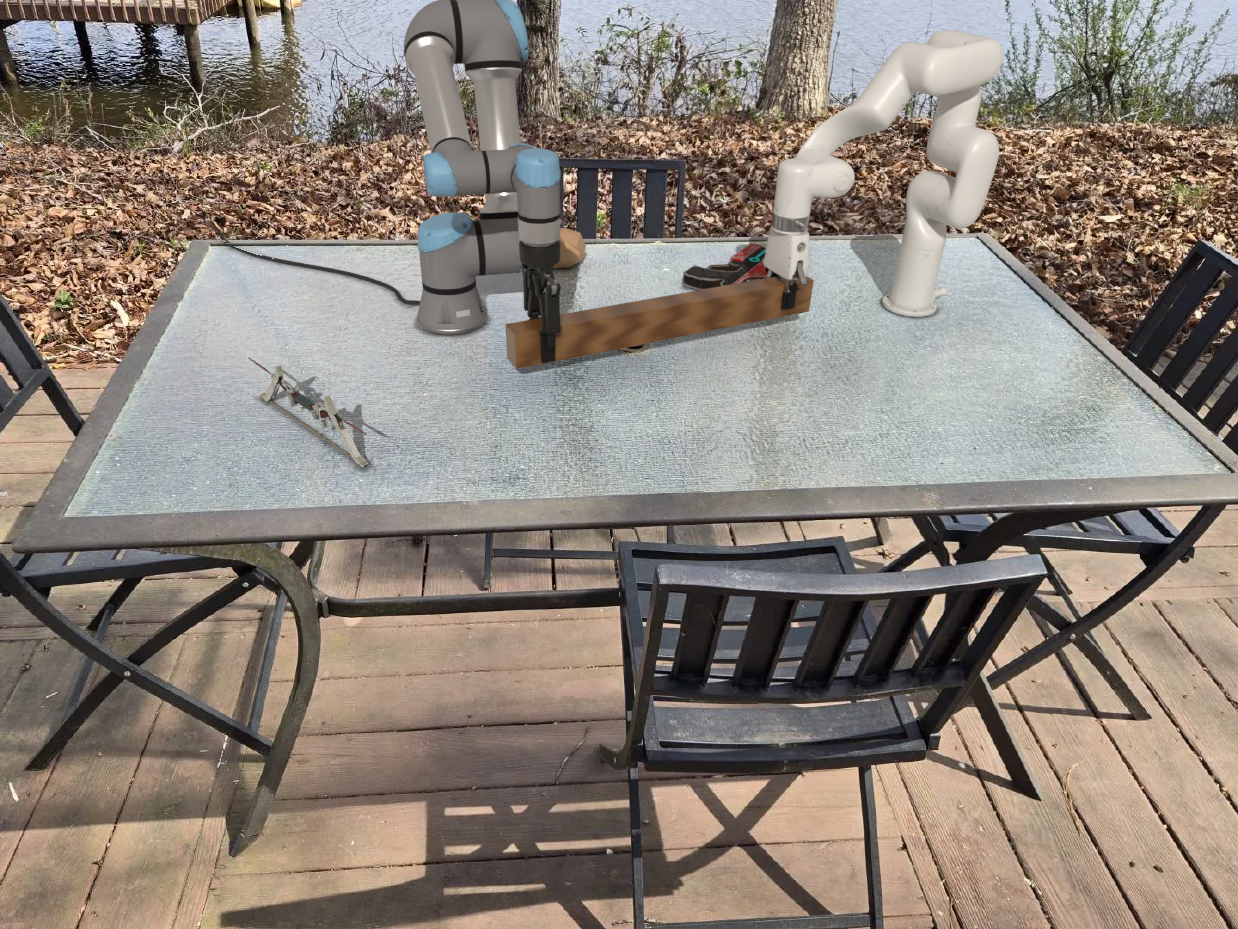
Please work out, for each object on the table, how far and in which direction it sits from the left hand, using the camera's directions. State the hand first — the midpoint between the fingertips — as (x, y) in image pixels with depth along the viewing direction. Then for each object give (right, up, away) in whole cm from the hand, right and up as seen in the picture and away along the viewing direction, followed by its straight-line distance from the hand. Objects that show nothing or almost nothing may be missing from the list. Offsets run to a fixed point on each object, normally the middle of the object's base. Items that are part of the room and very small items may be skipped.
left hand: (542, 354), depth 172 cm
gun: (+46, +25, +50) cm, 73 cm away
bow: (-40, -15, -14) cm, 45 cm away
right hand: (+50, +14, +20) cm, 56 cm away
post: (+25, +6, +11) cm, 28 cm away
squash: (-4, +31, +56) cm, 64 cm away
